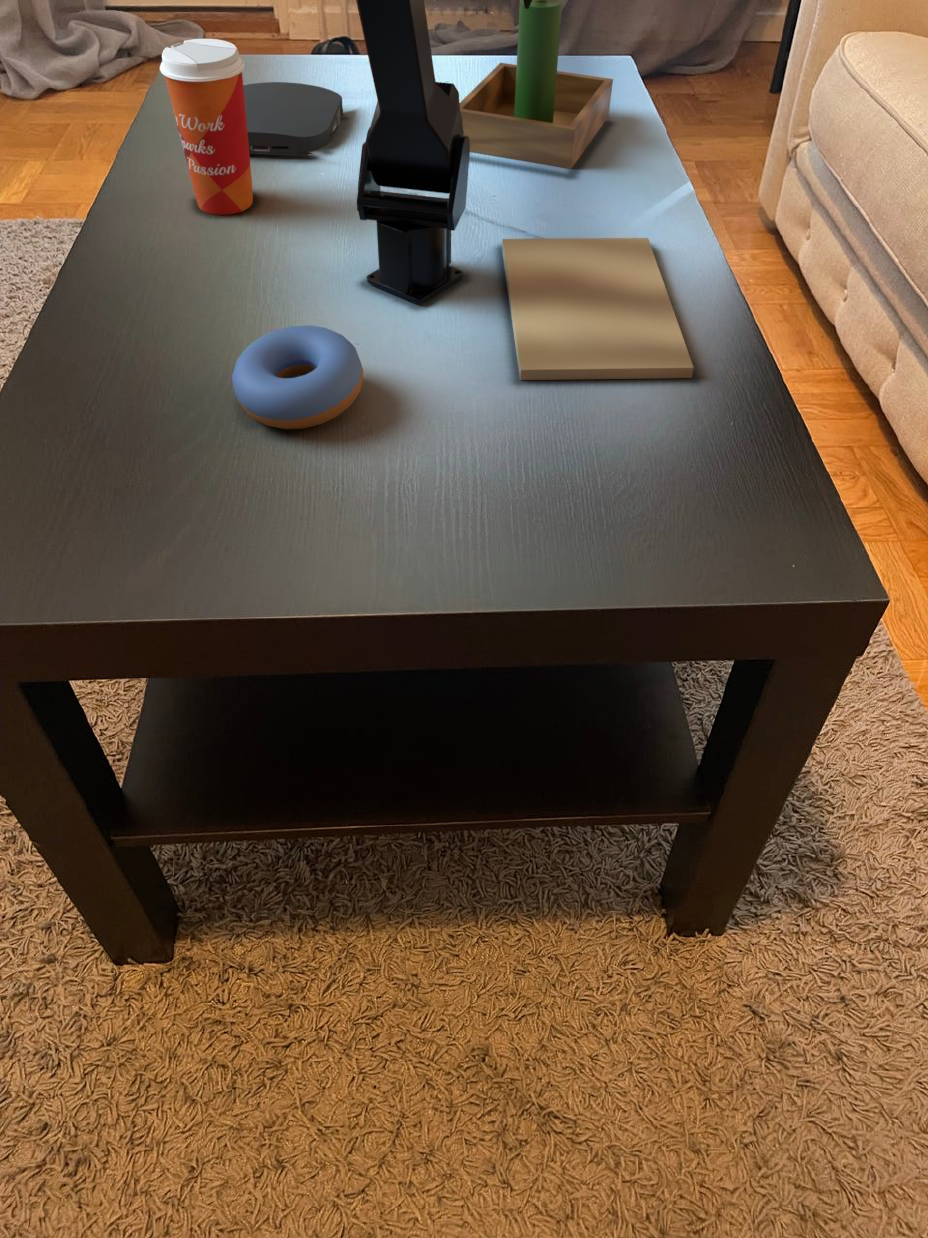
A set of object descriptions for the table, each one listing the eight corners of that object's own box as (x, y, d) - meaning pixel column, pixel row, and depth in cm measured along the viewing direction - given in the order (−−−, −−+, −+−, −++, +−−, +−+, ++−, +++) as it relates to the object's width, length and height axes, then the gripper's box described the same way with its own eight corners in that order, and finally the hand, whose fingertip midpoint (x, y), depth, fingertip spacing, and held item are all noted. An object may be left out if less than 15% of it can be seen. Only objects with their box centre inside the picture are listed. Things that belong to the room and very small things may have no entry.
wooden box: (570, 176, 104) (574, 129, 101) (452, 155, 107) (452, 109, 104) (607, 122, 114) (613, 78, 111) (498, 105, 117) (500, 62, 114)
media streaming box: (228, 103, 116) (224, 76, 114) (349, 109, 116) (347, 82, 114) (195, 154, 107) (190, 125, 104) (327, 161, 106) (324, 132, 104)
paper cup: (171, 205, 98) (138, 53, 88) (224, 179, 103) (199, 30, 92) (227, 227, 95) (200, 71, 85) (280, 199, 100) (261, 47, 89)
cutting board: (691, 378, 79) (694, 367, 78) (519, 380, 78) (520, 369, 78) (646, 247, 94) (648, 237, 93) (501, 248, 93) (502, 238, 92)
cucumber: (537, 142, 108) (547, -2, 98) (505, 132, 110) (511, -11, 99) (559, 130, 110) (571, -12, 100) (528, 120, 112) (536, -20, 102)
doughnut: (231, 442, 72) (220, 390, 69) (243, 366, 79) (233, 316, 76) (364, 438, 73) (360, 386, 70) (365, 363, 80) (361, 313, 76)
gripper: (592, -222, 82) (588, -63, 97) (378, -233, 84) (406, -76, 99) (570, -109, 80) (569, 35, 95) (352, -123, 82) (385, 20, 98)
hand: (482, 0), depth 97 cm, fingers open, 9 cm apart
